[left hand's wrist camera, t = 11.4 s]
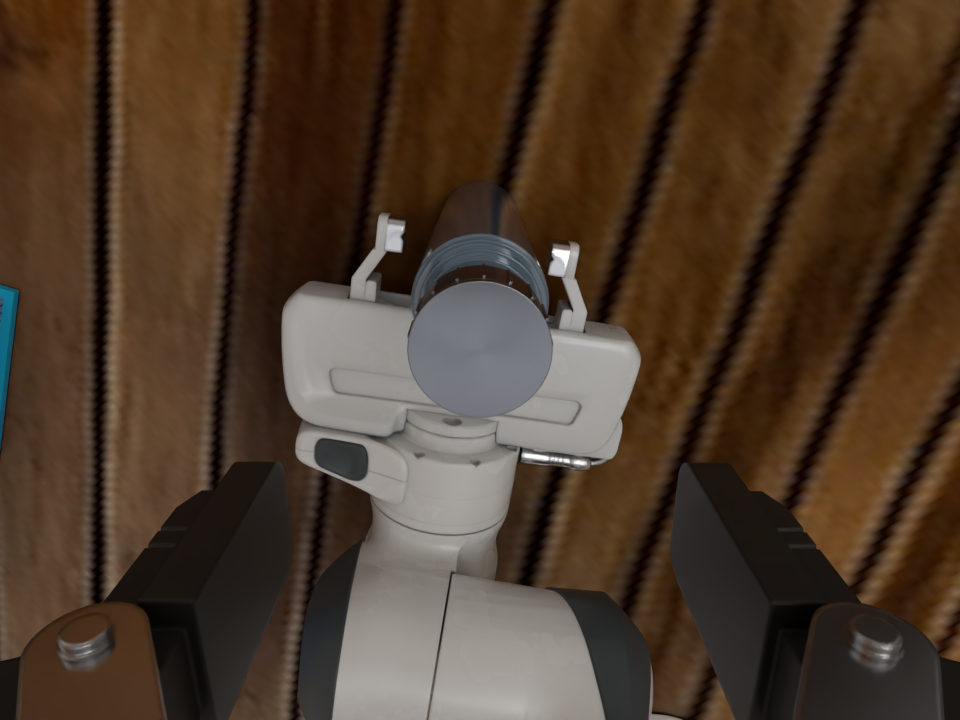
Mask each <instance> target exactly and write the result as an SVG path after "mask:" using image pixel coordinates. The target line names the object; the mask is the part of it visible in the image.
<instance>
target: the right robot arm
mask: <svg viewBox="0 0 960 720" xmlns="http://www.w3.org/2000/svg"><path fill="white" fill-rule="evenodd" d="M407 226H408V217H407V216H401V215H395V214H390V213H381V214H380V215H379V219H378V224H377V234H376V245H375V247H374V248H373V249H372V251H371V252H370V253H369V255H368V256H367V257H366V259H365V260H364V262H363V263H362V264H361V266H360V267H359V268H358V270H357V271H356V272H355V274H354V275H353V276H352V280H351V286H345V285H338V284H331V283H325V282H318V281H310V282H307V283H306V284H304V285H303V286H302V287H300V288H299V289H298V290H296V291H295V292H294V293H293V294H292V295H291V296H290V297H289V299H288V300H287V301H286V303H285V305H284V308H283V313H282V333H281V334H282V362H283V373H284V382H285V389H286V394H287V397H288V400H289V402H290V405H291V406H292V408H293V410H294V411H295V412H296V413H297V415H298V416H300V417H301V418H302V419H303V420H302V422H301V425H300V428H299V431H298V435H297V439H296V445H295V453H296V456H297V458H298V459H299V460H300V461H301V462H302V463H304V464H306V465H307V466H310V467H312V468H314V469H317V470H319V471H322V472H324V473H326V474H329V475H331V476H333V477H336V478H338V479H340V480H342V481H345V482H347V483H349V484H351V485H353V486H355V487H357V488H359V489H361V490H363V491H365V492H367V493H369V494H370V499H371V505H372V511H373V521H372V525H371V527H370V529H369V531H368V533H367V536H366V538H365V541H362V540H361V541H359V542H358V543H356V544H355V545H353V546H352V547H351V548H349V549H348V550H347V551H346V552H345V553H344V554H342V555H341V556H340V557H339V558H338V559H337V560H336V561H335V562H334V563H333V564H332V565H330V566H329V567H328V568H327V569H326V570H325V572H324V573H323V574H322V576H321V577H320V579H319V580H318V582H317V584H316V586H315V588H314V590H313V593H312V596H311V598H310V602H309V605H308V608H307V612H306V617H305V623H304V629H303V637H302V646H301V657H300V669H299V682H298V695H297V699H298V702H299V705H300V707H301V710H302V713H303V715H304V717H305V720H426V718H427V712H428V706H429V700H430V694H432V699H431V705H430V711H429V717H428V720H682V719H680V718H676V717H672V716H667V715H660V714H652V704H653V675H652V667H651V661H650V651H649V647H648V644H647V642H646V640H645V638H644V637H643V635H642V634H641V632H640V631H639V629H638V628H637V627H636V625H635V624H634V623H633V622H632V620H631V619H630V618H629V617H628V616H627V614H626V613H625V612H624V611H623V610H622V609H621V608H620V607H619V606H618V605H617V604H616V603H615V602H614V601H613V600H612V599H611V598H610V597H609V596H608V595H607V594H606V593H604V592H601V591H589V590H576V589H564V588H545V589H542V588H536V587H530V586H524V585H518V584H512V583H506V582H500V581H494V580H495V575H496V570H497V563H498V553H497V547H496V537H497V534H498V531H499V529H500V528H501V526H502V524H503V522H504V520H505V518H506V516H507V512H508V508H509V503H510V498H511V493H512V487H513V482H514V477H515V472H516V465H517V464H518V463H523V464H530V465H538V466H557V467H560V466H561V467H565V468H568V469H570V470H575V471H587V470H589V469H590V466H596V465H600V464H603V463H605V462H607V461H608V460H609V459H612V458H613V457H614V456H615V454H616V452H617V450H618V447H619V443H620V439H621V435H622V431H623V419H622V414H623V412H624V410H625V407H626V405H627V402H628V400H629V397H630V395H631V392H632V389H633V386H634V384H635V381H636V378H637V374H638V371H639V367H640V363H641V356H640V352H639V350H638V347H637V346H636V344H635V342H634V340H633V339H632V337H631V336H630V335H629V334H628V332H627V331H626V330H625V329H624V328H623V327H621V326H617V325H611V324H604V323H597V322H590V321H585V320H586V316H587V310H586V307H585V304H584V301H583V299H582V296H581V293H580V290H579V287H578V284H577V281H576V279H575V277H574V275H575V270H576V265H577V260H578V256H579V245H578V243H577V242H572V241H566V240H558V239H551V240H550V243H549V248H548V249H549V251H550V254H549V255H548V256H547V259H546V265H545V269H546V271H547V274H548V275H552V276H558V277H561V279H562V282H563V285H564V288H565V291H566V294H567V297H568V300H569V301H568V302H567V300H559V301H558V305H557V310H556V315H555V316H549V315H547V316H548V319H549V321H547V323H548V326H549V329H550V333H551V337H552V341H553V354H552V362H551V366H550V369H549V372H548V374H547V377H546V379H545V381H544V382H543V384H542V386H541V387H540V388H539V390H538V391H537V392H536V393H535V394H534V395H533V396H532V397H531V398H530V399H529V400H528V401H527V402H526V403H524V404H523V405H521V406H520V407H518V408H516V409H515V410H512V411H510V412H508V413H505V414H502V415H498V416H493V417H485V418H475V417H467V416H461V415H458V414H455V413H452V412H450V411H448V410H446V409H444V408H442V407H440V406H439V405H437V404H436V403H434V402H433V401H432V400H431V399H429V398H428V396H427V395H426V394H425V393H424V392H423V391H422V390H421V388H420V387H419V386H418V384H417V382H416V381H415V379H414V377H413V374H412V372H411V369H410V366H409V361H408V353H407V345H408V338H407V335H408V332H409V329H410V326H411V323H412V320H414V318H413V314H412V309H411V295H406V294H400V293H393V292H386V291H380V289H381V277H382V275H381V273H378V272H373V273H372V271H373V269H374V268H375V267H376V265H377V264H378V263H379V261H380V260H381V259H382V257H383V256H384V255H385V253H386V252H387V251H391V252H399V253H402V252H403V249H404V248H405V244H406V233H405V230H406V229H407ZM591 457H593V458H597V459H592V460H591Z"/></svg>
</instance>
